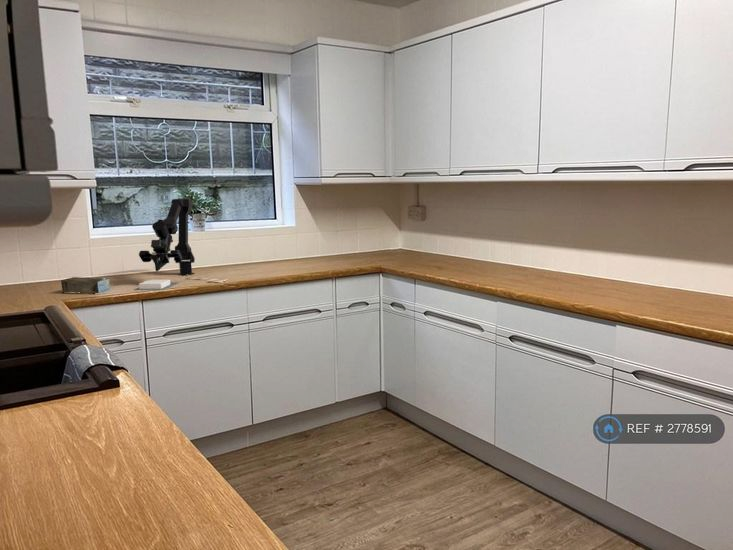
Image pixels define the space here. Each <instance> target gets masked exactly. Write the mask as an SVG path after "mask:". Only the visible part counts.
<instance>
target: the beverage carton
mask: <svg viewBox="0 0 733 550" xmlns="http://www.w3.org/2000/svg"><path fill="white" fill-rule="evenodd" d="M60 281H61V282H60V283H61V290H62V293H63V292H80V293H101V292H102V293H105V292H109V291H111V286H110V285H111V284H110V279H109V278H105V277H82V276H81V277H80V276H79V277H78V276H75V277H74V276H72V277H68V278H65V279H61V280H60Z"/></svg>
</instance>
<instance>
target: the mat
mask: <svg viewBox="0 0 733 550" xmlns="http://www.w3.org/2000/svg"><path fill="white" fill-rule="evenodd" d="M179 283H181V282H180V281H179V282H178V281H177V282H176V281H175V282H171V281H170V285H169V286H167V287H165V288H163V289H141V290H139V287H137V288H135V289H134V291H165V290H168V289H170V288H172V287H174V286H176V285H177V284H179Z"/></svg>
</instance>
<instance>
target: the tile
mask: <svg viewBox="0 0 733 550" xmlns="http://www.w3.org/2000/svg"><path fill="white" fill-rule="evenodd" d="M170 282H171V279H148V280H145V281H142V282H140V283H138V288H139V290H138V291H142V290H141V289H163V288H165V287H167V286H169V285H170Z"/></svg>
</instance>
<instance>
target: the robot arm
mask: <svg viewBox="0 0 733 550" xmlns="http://www.w3.org/2000/svg"><path fill="white" fill-rule="evenodd" d="M170 202H171V203H170V204H171V205H170V207H169V211H168V213H167V216H166V218H165V219H158V220H157V221H155V222H154V223H153V224H152V225H151V228H152V230H153V231H154V233H155V235H156V237H158V239H151V241H150V248H152V251H153V252H152V251H151V252H150V251H149V250H140V251H139V253H138V256H139V258H140V260H141V262H143V263H150V262H151V261H153V263H154V268H155V271H156V272H158V271H160V270H161V269H162V268H163V267H164V266H165V265H166V264H169V263H170V259H171V258H172V259H173V260H174V262H175V264H179V266H178V268H179V272H178V273H177V275H179V274H181V275H180V276H188V275H187V274H190V275H195V272H193V271H192V263H193V264H194V263H195V261H196V259H195V256H194V254H193V252H192V248H191V246H190V244H189V215H190V213H191V212H192V209H193V208H192V207H193V201H192V200H191V198H189V197H188V198H186V197H184V198H173V199H171V201H170ZM177 221H178V225H177ZM177 232H178V243H177V245H175V246H174V249H172V248H171V245H172V243H173V242H174V240H173V236H172V235H176V234H177Z"/></svg>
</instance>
